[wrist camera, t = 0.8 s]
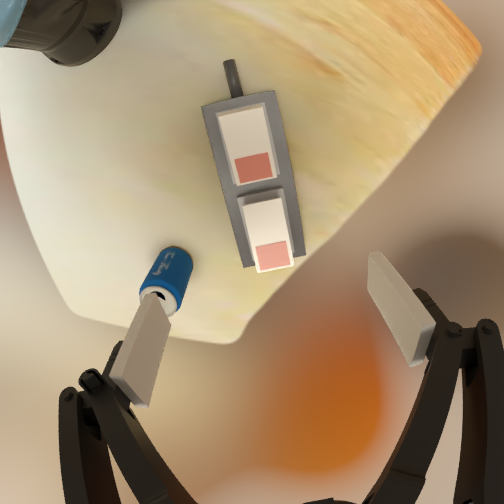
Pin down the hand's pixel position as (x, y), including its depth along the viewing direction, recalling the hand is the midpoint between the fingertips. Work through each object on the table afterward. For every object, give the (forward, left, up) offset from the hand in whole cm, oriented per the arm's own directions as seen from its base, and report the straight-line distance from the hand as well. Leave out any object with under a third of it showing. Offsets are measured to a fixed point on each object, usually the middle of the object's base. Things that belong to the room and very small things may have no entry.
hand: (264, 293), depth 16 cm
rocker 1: (-7, +1, -21) cm, 22 cm away
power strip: (-4, +1, -28) cm, 29 cm away
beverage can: (+10, -16, -29) cm, 34 cm away
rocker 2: (+5, +1, -21) cm, 22 cm away
